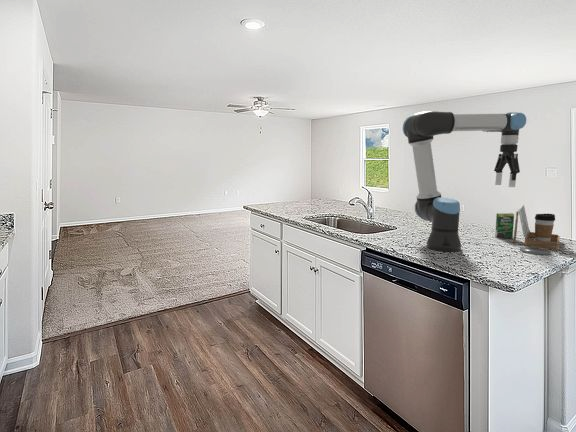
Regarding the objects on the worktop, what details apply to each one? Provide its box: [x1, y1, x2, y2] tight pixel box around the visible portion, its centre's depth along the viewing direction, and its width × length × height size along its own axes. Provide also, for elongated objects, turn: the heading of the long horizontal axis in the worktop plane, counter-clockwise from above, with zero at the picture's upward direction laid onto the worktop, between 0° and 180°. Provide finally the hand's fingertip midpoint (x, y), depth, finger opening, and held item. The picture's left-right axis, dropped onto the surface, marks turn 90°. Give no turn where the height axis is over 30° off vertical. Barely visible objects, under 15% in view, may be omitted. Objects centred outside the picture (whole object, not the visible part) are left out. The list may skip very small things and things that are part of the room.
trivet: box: [519, 246, 552, 256], centre depth 169 cm, size 12×12×1 cm
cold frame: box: [512, 204, 561, 251], centre depth 184 cm, size 22×19×18 cm
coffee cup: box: [534, 213, 556, 242], centre depth 182 cm, size 8×8×15 cm
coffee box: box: [494, 212, 515, 239], centre depth 197 cm, size 8×3×13 cm, turn 77°
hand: (504, 186), depth 190 cm, fingers open, 13 cm apart
